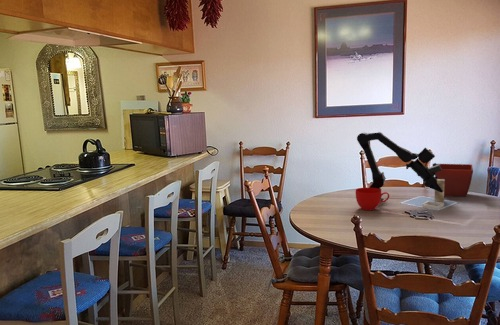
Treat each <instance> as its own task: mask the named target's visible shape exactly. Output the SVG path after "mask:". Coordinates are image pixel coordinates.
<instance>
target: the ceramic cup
mask: <svg viewBox="0 0 500 325" xmlns="http://www.w3.org/2000/svg"><path fill="white" fill-rule="evenodd" d="M383 195H387V197H386V198H385V199H383V200H381V198H382V196H383ZM355 199H356V202H357V205H358V206H359V207H360V208H361V209H362V210H363V211H375V209H376V208H377V207H378V206H379V205H380V204H382V203H384V202H386V201H388V200H389V199H390V194H389V193H388V192H386V191H385V192H382V189H381V190H380V189H377V188H369V187H360V188H359V187H358V188H356V189H355Z"/></svg>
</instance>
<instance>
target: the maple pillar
mask: <svg viewBox="0 0 500 325" xmlns="http://www.w3.org/2000/svg"><path fill="white" fill-rule="evenodd" d="M437 183H438V185H439V186H440V187H441V189H442V190H443V192H442V193H441V192H439V191H436V190H434V197H433V198H434V202H441V203H444V200H445V196H444V183H445V180H444V179H437Z"/></svg>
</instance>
